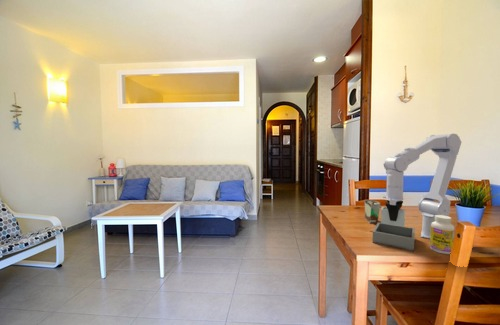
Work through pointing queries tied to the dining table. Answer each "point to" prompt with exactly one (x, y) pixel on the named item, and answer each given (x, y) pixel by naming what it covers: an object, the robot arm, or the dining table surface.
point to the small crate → (386, 219)
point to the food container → (372, 211)
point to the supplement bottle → (441, 234)
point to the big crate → (394, 236)
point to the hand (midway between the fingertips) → (393, 219)
